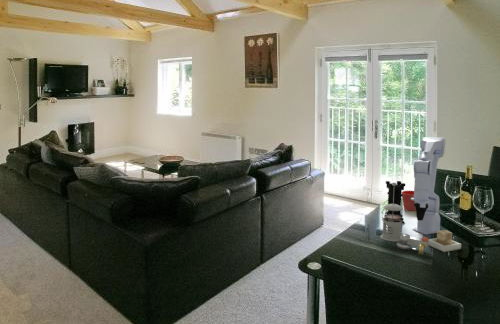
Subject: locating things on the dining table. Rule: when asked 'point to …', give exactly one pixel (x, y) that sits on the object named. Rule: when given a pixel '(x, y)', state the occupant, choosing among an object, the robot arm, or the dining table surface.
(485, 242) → the dining table surface
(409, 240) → the crank
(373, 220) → the dining table surface
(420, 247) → the crank base
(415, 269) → the dining table surface
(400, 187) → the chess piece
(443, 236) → the block
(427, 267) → the dining table surface
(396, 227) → the french press
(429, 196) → the robot arm
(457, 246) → the tray
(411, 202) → the flower pot
